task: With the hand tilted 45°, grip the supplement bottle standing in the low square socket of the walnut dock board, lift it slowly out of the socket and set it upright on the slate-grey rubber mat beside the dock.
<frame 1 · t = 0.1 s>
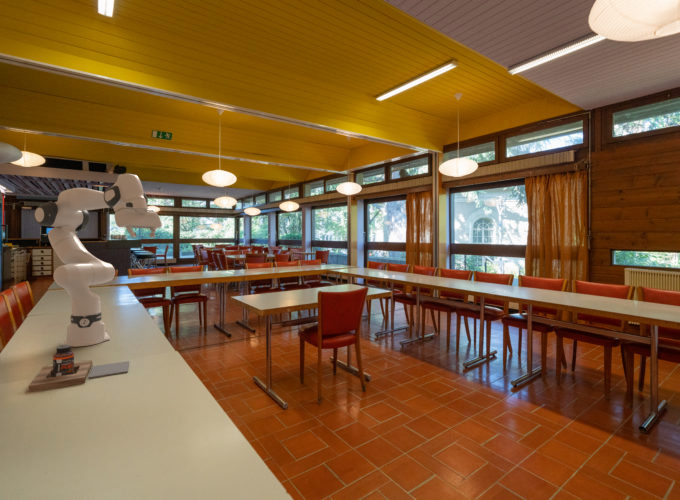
hand: (143, 237, 146), 52 cm above the table, tool tilted 20°, fingers open, 8 cm apart
walnut dock board: (63, 377, 120), on the table
supplement bottle: (63, 377, 120), resting in walnut dock board
slate-grey rubber mat: (110, 370, 127), on the table
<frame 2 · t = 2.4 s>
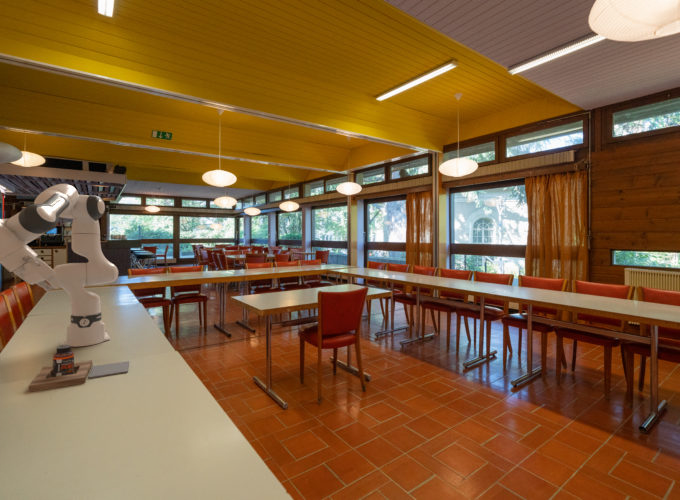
hand: (54, 288, 118), 33 cm above the table, tool tilted 40°, fingers open, 8 cm apart
nothing on the table moved.
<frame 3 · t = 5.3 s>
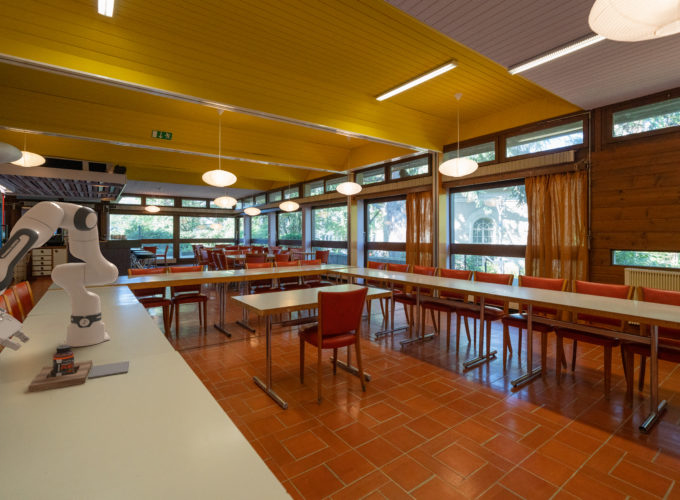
hand: (23, 344, 114), 14 cm above the table, tool tilted 45°, fingers open, 8 cm apart
nothing on the table moved.
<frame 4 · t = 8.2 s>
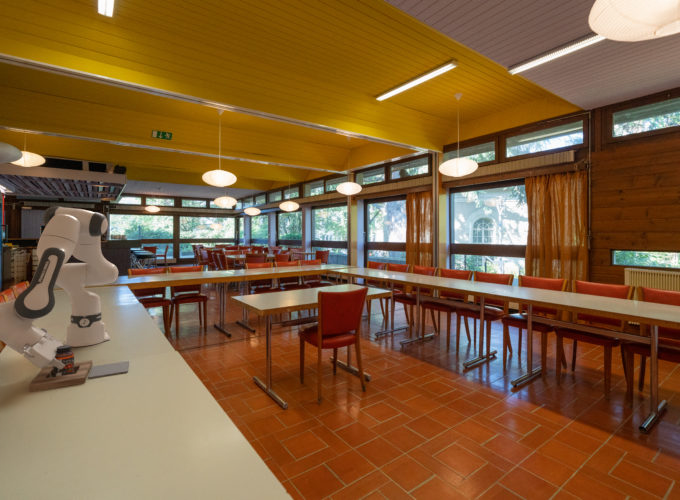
hand: (65, 363, 120), 5 cm above the table, tool tilted 45°, fingers closed on supplement bottle, 6 cm apart
supplement bottle: (63, 377, 120), resting in walnut dock board, touching gripper
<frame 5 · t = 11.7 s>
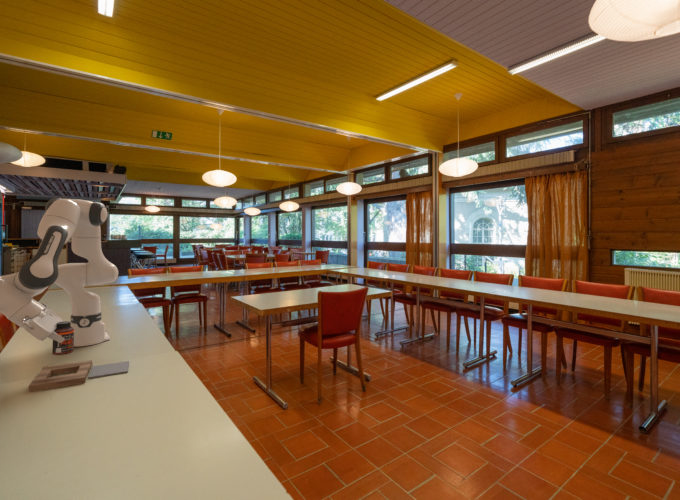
hand: (65, 338, 120), 14 cm above the table, tool tilted 45°, fingers closed on supplement bottle, 6 cm apart
supplement bottle: (63, 353, 120), point 9 cm above the table, touching gripper
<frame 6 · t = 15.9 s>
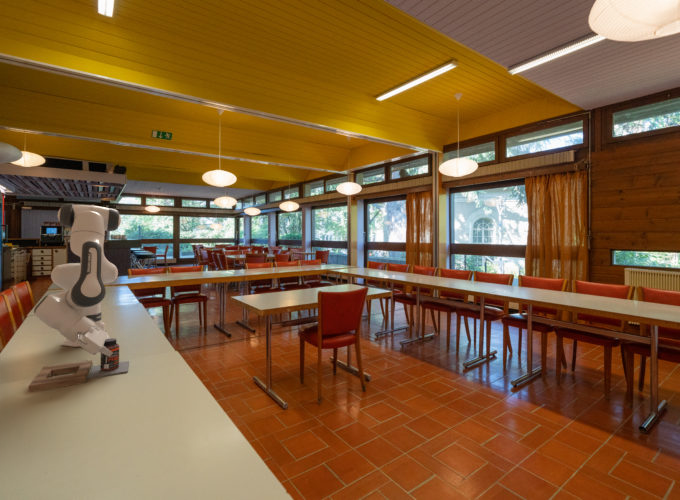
hand: (112, 351, 127), 7 cm above the table, tool tilted 45°, fingers closed on supplement bottle, 6 cm apart
supplement bottle: (109, 369, 127), resting on slate-grey rubber mat, touching gripper
when the fingers open (7 cm above the table, at t = 16.1 s): supplement bottle stays where it is, resting on slate-grey rubber mat.
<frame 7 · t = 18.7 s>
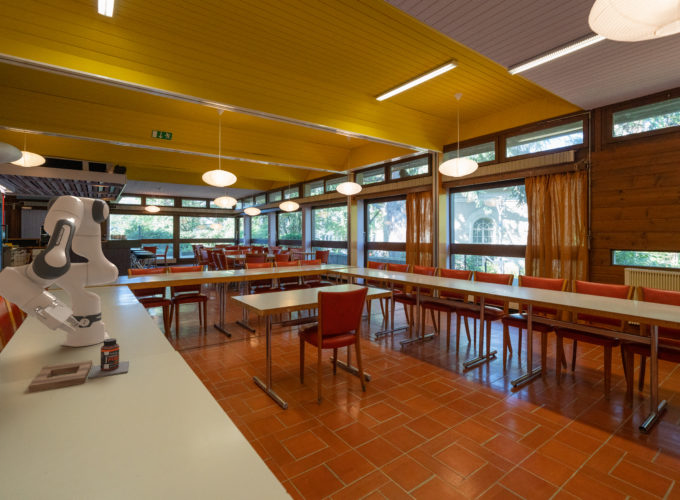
hand: (76, 328, 122), 17 cm above the table, tool tilted 45°, fingers open, 8 cm apart
supplement bottle: (109, 369, 127), resting on slate-grey rubber mat
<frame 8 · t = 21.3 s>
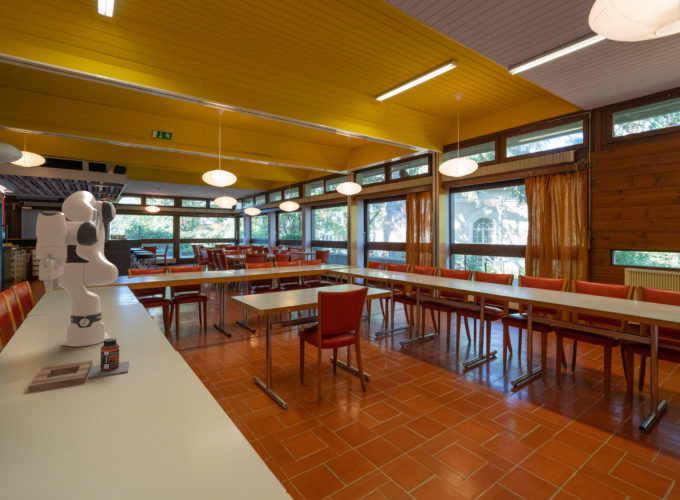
hand: (52, 289, 125), 31 cm above the table, tool pointing down, fingers open, 8 cm apart
nothing on the table moved.
at the end: supplement bottle inside the target area on the slate-grey rubber mat (0.1 cm from its centre), point 0.4 cm above the slate-grey rubber mat's base; supplement bottle tilted 0°; the gripper is holding nothing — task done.
